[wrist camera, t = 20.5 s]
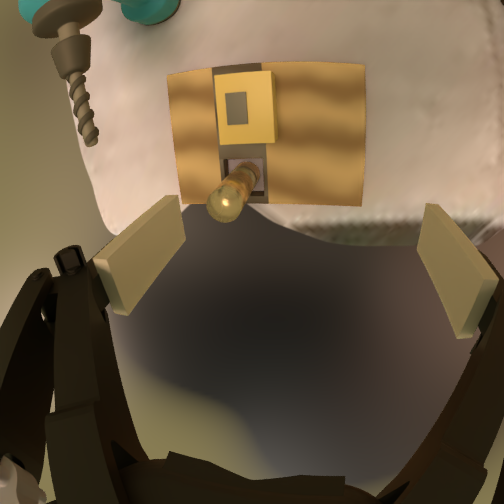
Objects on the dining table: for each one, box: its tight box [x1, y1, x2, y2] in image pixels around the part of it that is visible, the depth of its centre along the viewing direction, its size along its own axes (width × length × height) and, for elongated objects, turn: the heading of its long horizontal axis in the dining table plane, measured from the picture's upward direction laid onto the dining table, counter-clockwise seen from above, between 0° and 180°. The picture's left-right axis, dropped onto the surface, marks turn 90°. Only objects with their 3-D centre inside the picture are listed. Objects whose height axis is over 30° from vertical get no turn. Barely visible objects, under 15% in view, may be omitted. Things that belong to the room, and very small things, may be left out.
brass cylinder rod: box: [206, 162, 260, 222], centre depth 32 cm, size 3×3×12 cm
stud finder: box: [214, 71, 278, 145], centre depth 29 cm, size 8×6×4 cm
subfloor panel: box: [167, 62, 366, 207], centre depth 33 cm, size 18×24×2 cm
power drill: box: [18, 0, 180, 147], centre depth 19 cm, size 28×9×23 cm, turn 12°
